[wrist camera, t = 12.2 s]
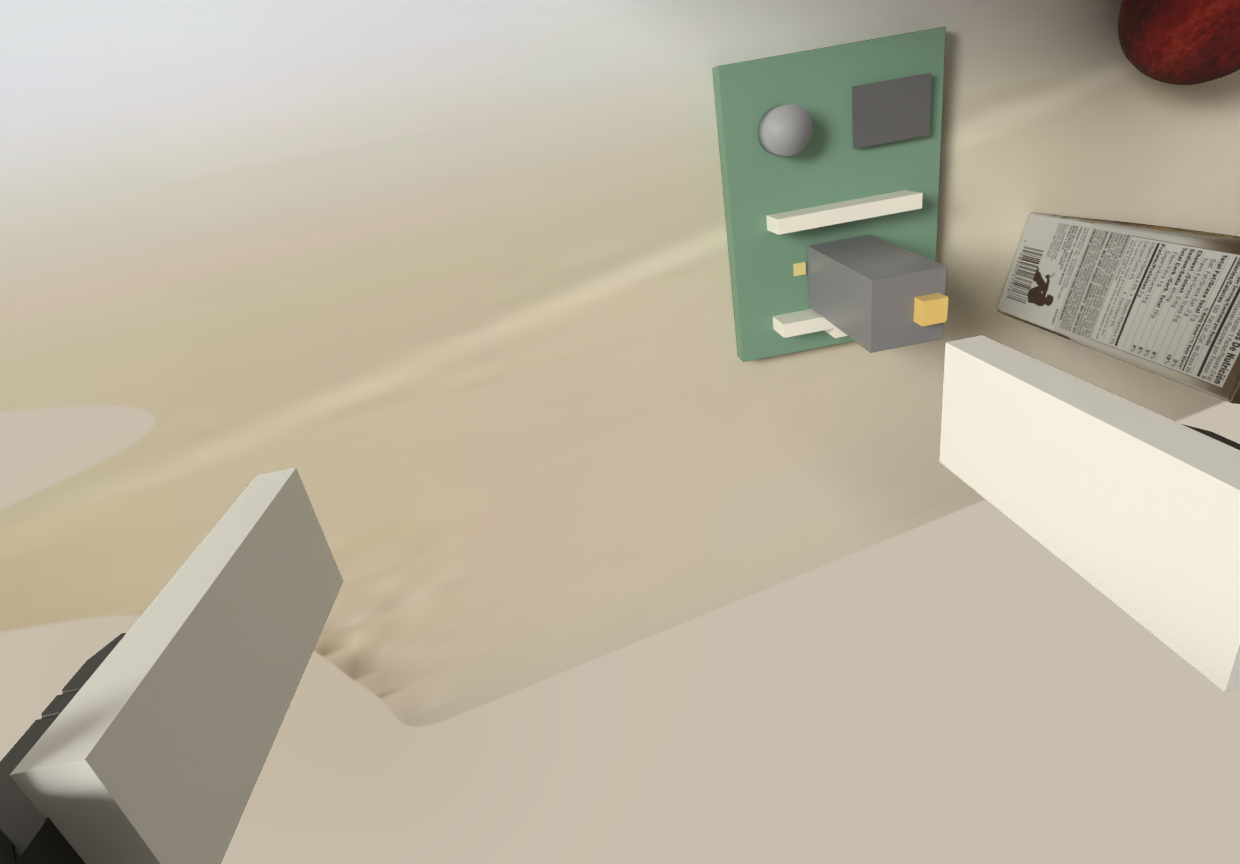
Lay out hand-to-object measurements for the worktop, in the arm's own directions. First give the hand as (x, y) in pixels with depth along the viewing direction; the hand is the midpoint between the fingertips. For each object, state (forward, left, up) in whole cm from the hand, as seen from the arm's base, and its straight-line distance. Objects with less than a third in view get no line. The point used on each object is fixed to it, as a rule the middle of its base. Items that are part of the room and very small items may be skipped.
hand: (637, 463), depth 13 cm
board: (0, +15, -27) cm, 31 cm away
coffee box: (+7, +31, -27) cm, 41 cm away
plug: (+4, +15, -25) cm, 30 cm away
